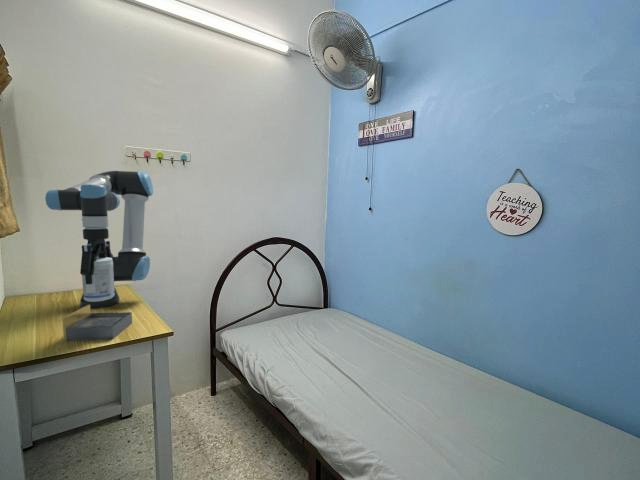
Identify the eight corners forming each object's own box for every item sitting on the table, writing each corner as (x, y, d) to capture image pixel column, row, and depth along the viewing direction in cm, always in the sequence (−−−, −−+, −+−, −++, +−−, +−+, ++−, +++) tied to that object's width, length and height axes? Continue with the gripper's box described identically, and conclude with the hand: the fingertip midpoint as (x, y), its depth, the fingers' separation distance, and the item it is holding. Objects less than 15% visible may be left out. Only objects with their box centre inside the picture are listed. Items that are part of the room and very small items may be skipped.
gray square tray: (89, 324, 124) (87, 304, 123) (132, 323, 127) (131, 303, 126) (63, 340, 110) (62, 318, 109) (113, 339, 112) (112, 317, 111)
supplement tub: (93, 294, 121) (91, 256, 119) (120, 294, 122) (118, 257, 120) (77, 302, 111) (74, 261, 110) (105, 302, 112) (103, 261, 111)
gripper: (101, 225, 124) (104, 281, 127) (63, 230, 102) (68, 297, 105) (121, 226, 125) (124, 281, 128) (89, 230, 103) (92, 297, 106)
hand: (99, 288), depth 116 cm, fingers closed on supplement tub, 10 cm apart
